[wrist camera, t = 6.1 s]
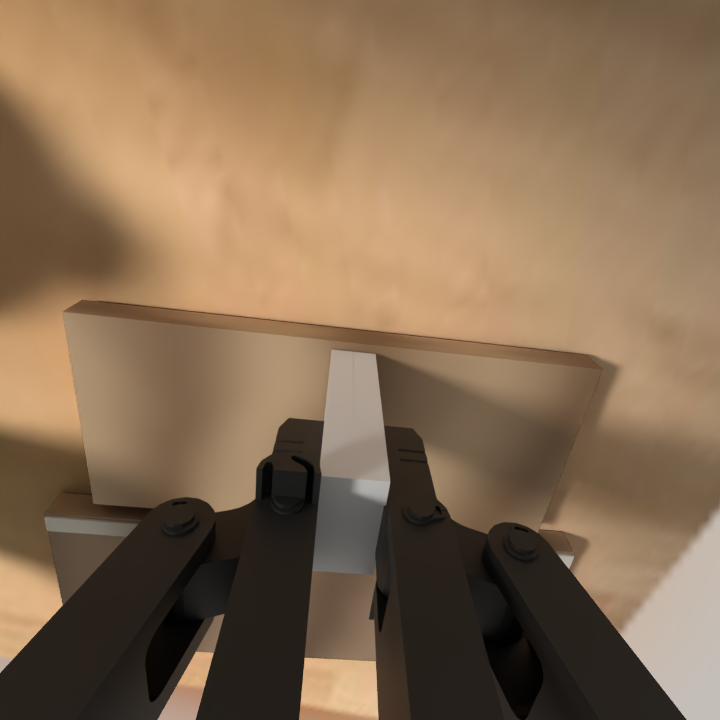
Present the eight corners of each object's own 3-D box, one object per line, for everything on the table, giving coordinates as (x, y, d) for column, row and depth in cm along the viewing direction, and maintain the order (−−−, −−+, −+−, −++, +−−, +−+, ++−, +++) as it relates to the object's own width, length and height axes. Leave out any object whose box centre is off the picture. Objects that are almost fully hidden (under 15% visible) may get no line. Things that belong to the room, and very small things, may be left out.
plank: (108, 488, 19) (94, 509, 18) (82, 299, 16) (62, 312, 15) (523, 521, 21) (533, 542, 20) (586, 354, 17) (602, 369, 16)
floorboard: (84, 620, 23) (69, 646, 21) (61, 492, 19) (42, 514, 18) (516, 646, 24) (525, 671, 23) (562, 531, 21) (575, 554, 20)
